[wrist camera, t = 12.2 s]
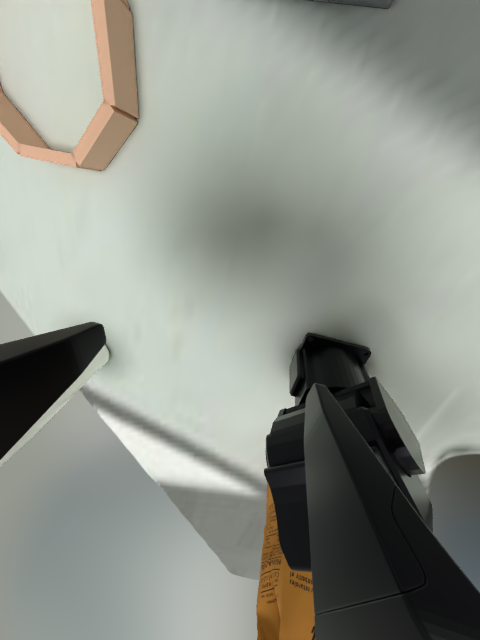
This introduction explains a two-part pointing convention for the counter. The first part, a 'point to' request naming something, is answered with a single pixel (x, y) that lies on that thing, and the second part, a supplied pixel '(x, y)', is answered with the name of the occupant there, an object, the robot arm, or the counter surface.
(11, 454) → the drinking glass
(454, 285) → the counter surface
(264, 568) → the coffee package
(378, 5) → the tray
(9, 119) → the segmented octagonal ring
